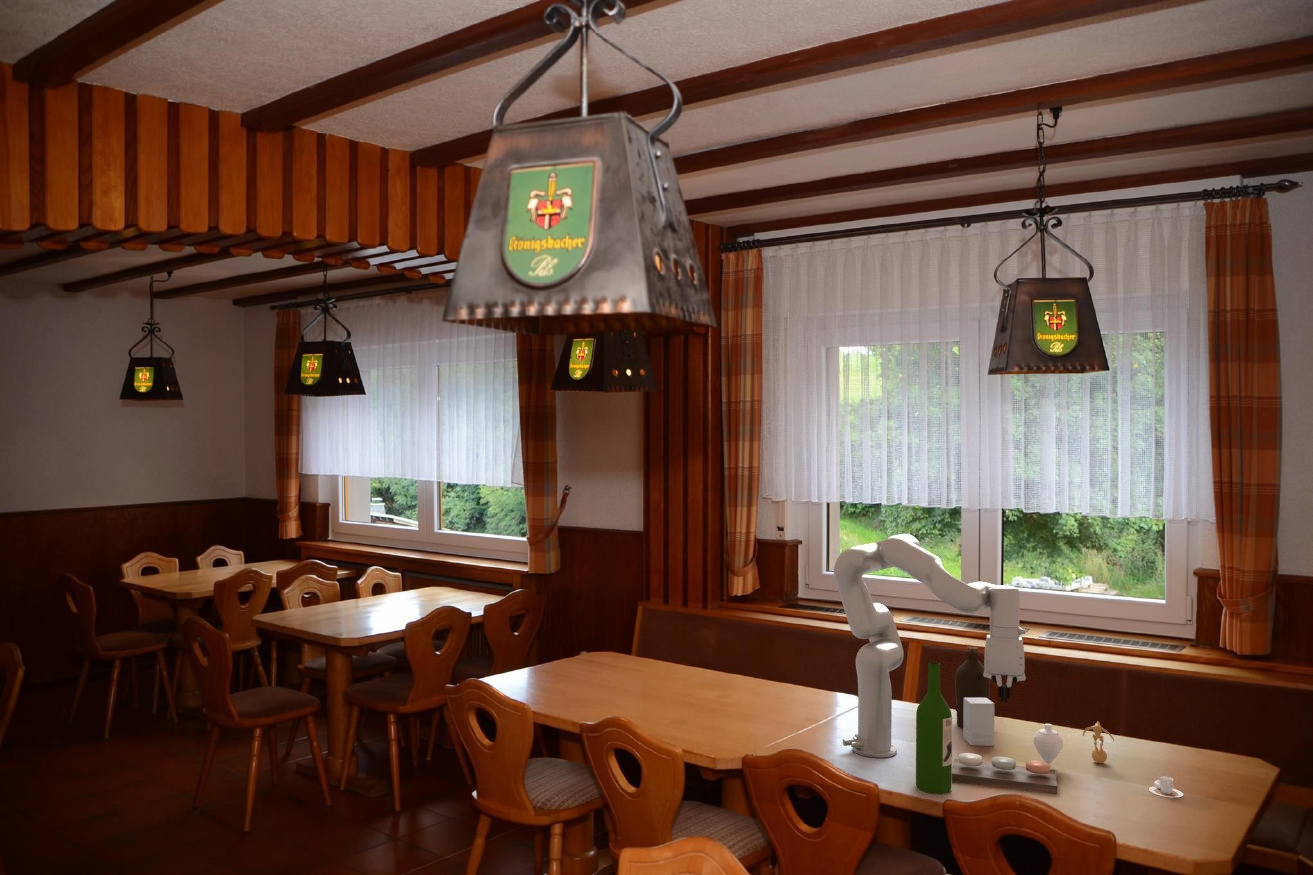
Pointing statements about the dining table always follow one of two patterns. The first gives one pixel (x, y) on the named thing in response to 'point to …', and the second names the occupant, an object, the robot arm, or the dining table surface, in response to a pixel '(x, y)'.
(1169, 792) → the teacup and saucer
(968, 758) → the cream button
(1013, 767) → the sage button
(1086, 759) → the dining table surface
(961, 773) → the button board
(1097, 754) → the figurine
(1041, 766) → the terracotta button
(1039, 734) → the spinning top
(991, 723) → the supplement box
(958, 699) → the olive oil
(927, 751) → the wine bottle
